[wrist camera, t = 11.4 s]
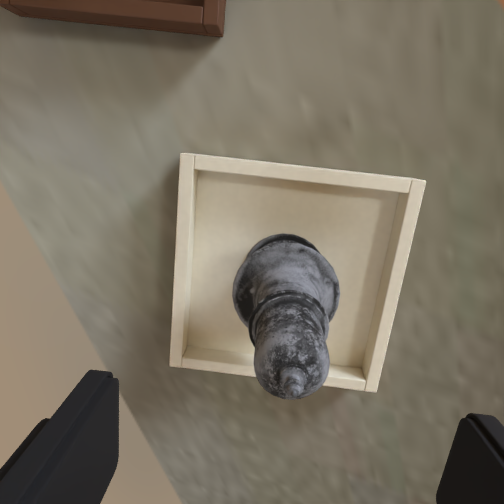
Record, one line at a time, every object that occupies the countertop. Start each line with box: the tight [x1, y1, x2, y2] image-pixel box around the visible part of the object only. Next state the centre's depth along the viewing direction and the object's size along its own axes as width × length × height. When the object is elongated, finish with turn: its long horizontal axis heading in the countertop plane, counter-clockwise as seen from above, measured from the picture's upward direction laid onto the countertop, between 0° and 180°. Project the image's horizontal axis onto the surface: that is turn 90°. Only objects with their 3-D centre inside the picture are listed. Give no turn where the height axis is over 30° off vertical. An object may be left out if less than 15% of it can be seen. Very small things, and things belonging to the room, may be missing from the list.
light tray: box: [170, 153, 426, 392], centre depth 23 cm, size 14×14×2 cm
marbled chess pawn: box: [232, 233, 340, 400], centre depth 17 cm, size 6×6×12 cm
